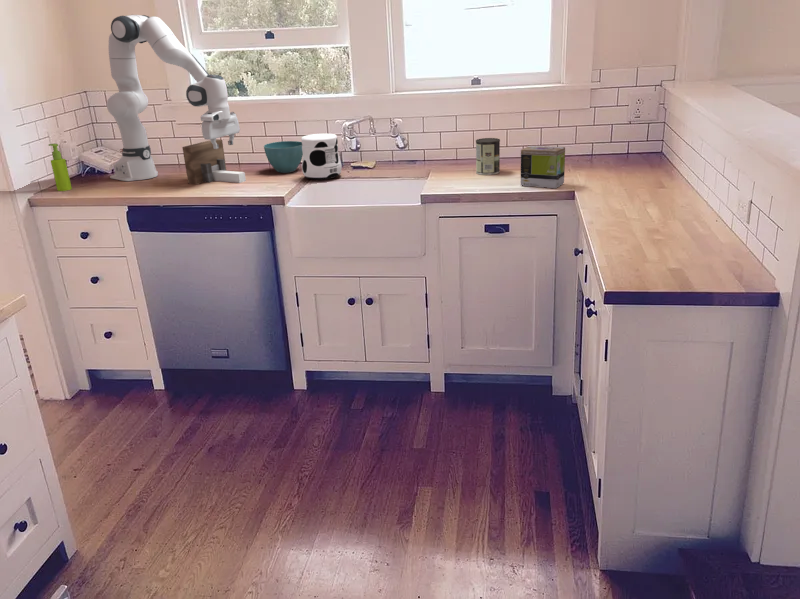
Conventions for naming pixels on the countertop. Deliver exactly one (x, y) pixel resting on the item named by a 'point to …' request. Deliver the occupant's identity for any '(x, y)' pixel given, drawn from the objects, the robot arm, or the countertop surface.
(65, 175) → the soap dispenser
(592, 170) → the countertop surface
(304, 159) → the milk container
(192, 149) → the brown wooden block
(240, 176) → the white t-shaped piece
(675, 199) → the countertop surface
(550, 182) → the tea box
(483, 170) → the coffee can
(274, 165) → the teal bowl
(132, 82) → the robot arm
